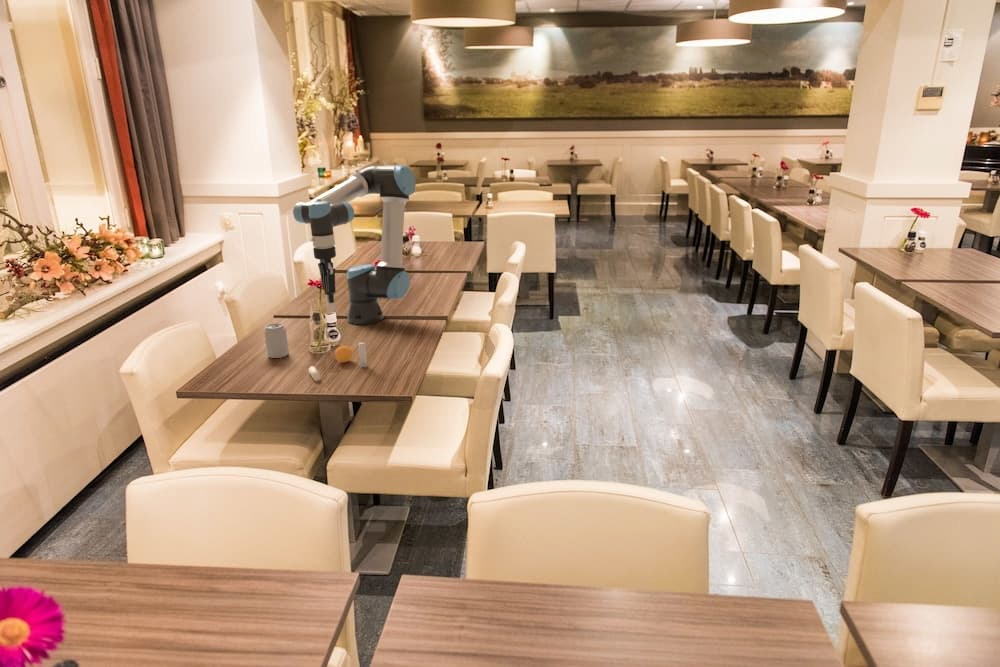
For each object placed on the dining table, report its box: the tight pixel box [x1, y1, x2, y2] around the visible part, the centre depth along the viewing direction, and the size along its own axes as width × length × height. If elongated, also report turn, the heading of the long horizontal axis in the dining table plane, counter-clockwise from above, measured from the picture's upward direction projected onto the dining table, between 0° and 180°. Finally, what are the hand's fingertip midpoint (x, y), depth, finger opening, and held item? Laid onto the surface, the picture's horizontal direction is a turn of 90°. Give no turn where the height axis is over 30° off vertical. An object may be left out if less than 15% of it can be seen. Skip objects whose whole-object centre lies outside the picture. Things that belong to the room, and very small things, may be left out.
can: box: [263, 322, 290, 359], centre depth 246 cm, size 8×8×12 cm
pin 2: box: [357, 341, 368, 368], centre depth 234 cm, size 2×2×8 cm
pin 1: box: [308, 365, 322, 382], centre depth 227 cm, size 2×2×8 cm
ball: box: [334, 345, 353, 364], centre depth 239 cm, size 6×6×6 cm
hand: (331, 310), depth 244 cm, fingers closed
